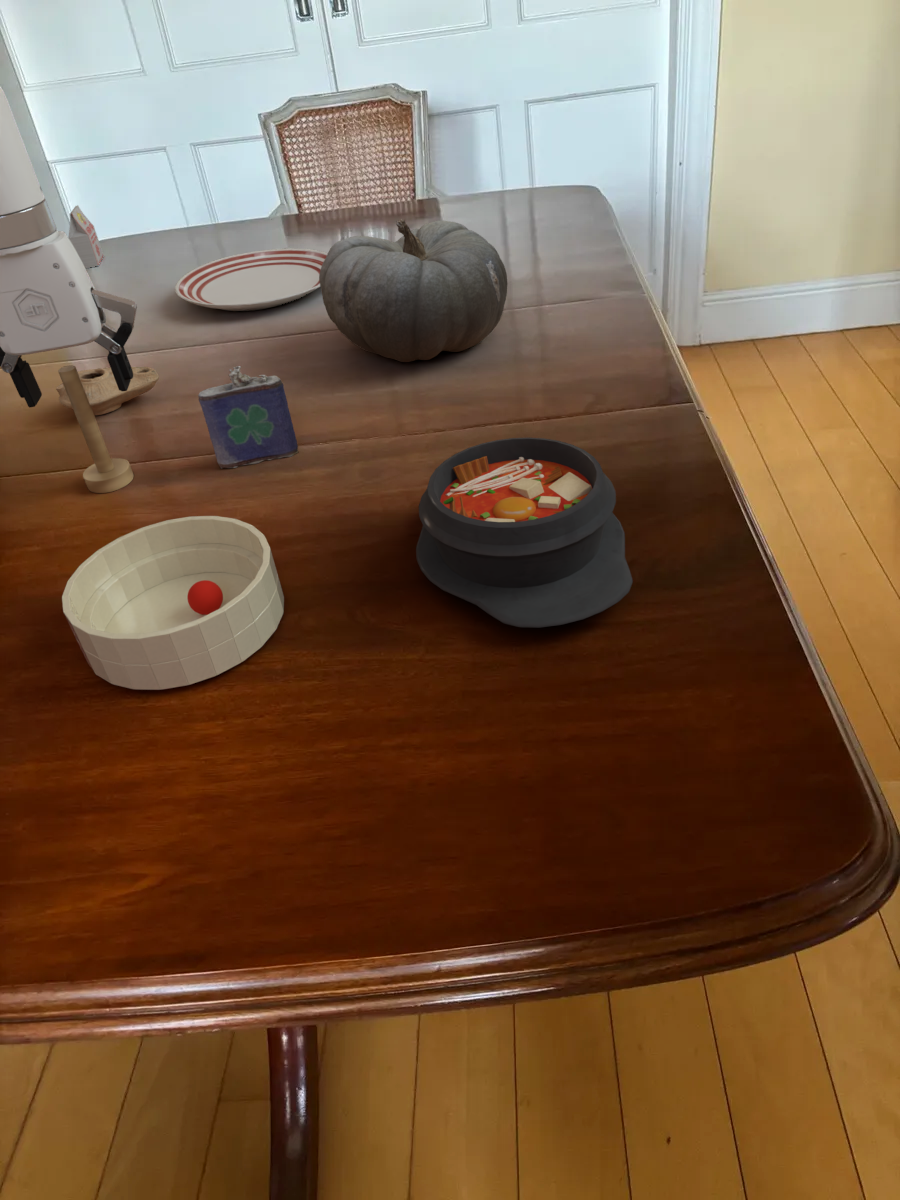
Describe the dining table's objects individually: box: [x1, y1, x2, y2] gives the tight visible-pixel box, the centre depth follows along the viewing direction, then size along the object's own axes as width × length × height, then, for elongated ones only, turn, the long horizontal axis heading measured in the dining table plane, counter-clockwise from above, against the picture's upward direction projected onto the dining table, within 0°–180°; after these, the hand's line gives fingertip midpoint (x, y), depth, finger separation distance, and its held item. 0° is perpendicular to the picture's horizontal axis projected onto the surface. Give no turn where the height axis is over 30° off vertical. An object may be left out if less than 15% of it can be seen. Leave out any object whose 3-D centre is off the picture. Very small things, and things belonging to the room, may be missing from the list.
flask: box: [197, 365, 299, 469], centre depth 99 cm, size 9×3×11 cm, turn 102°
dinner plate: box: [174, 248, 328, 312], centre depth 149 cm, size 27×27×3 cm
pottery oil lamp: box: [55, 366, 160, 416], centre depth 117 cm, size 9×12×7 cm
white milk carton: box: [67, 204, 105, 269], centre depth 173 cm, size 4×7×10 cm, turn 9°
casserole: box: [415, 437, 634, 629], centre depth 78 cm, size 25×19×8 cm
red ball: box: [187, 580, 223, 615], centre depth 78 cm, size 3×3×3 cm
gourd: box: [319, 218, 508, 363], centre depth 120 cm, size 25×25×17 cm
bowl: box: [61, 515, 285, 691], centre depth 77 cm, size 17×17×6 cm
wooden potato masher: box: [57, 364, 135, 494], centre depth 98 cm, size 5×5×14 cm
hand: (80, 393), depth 95 cm, fingers open, 9 cm apart
